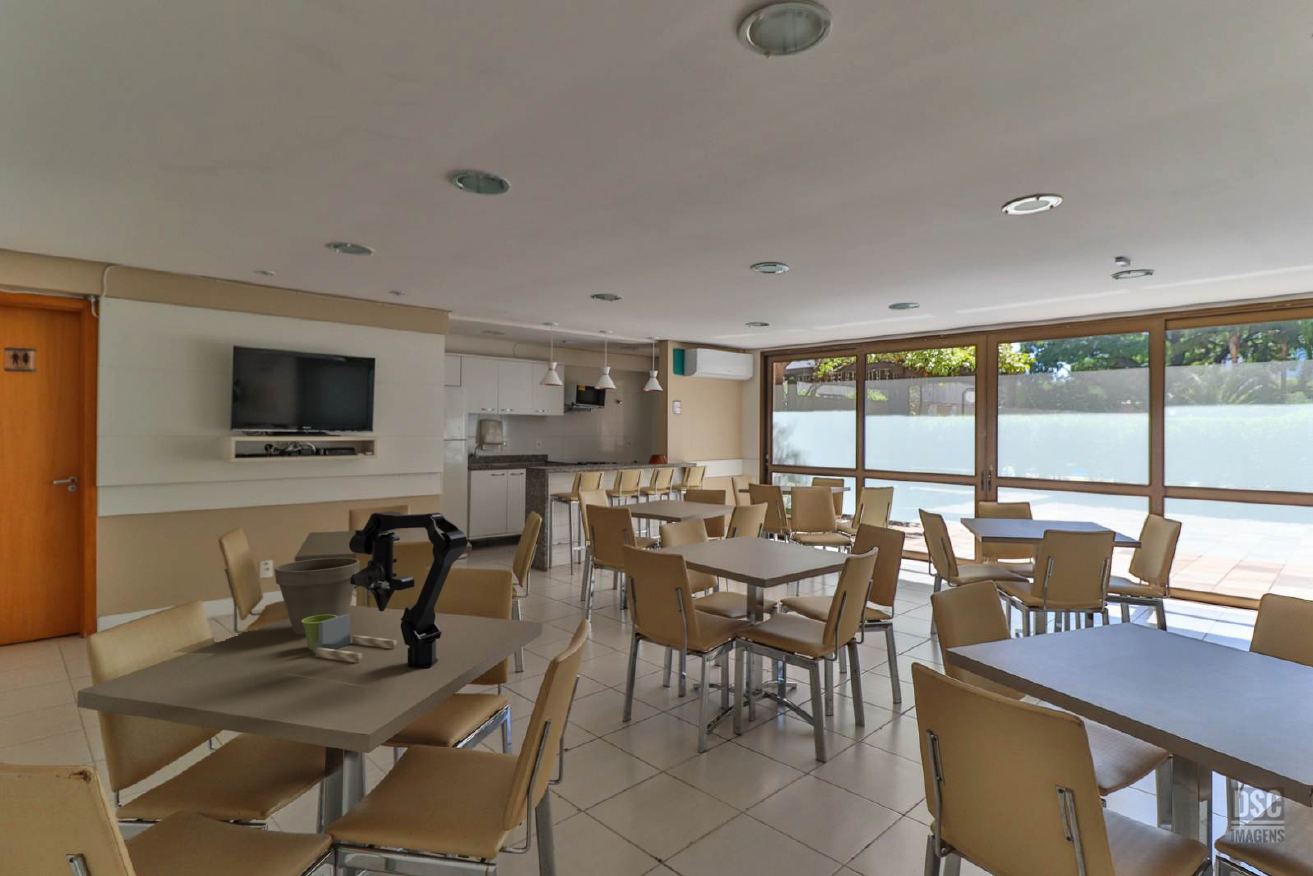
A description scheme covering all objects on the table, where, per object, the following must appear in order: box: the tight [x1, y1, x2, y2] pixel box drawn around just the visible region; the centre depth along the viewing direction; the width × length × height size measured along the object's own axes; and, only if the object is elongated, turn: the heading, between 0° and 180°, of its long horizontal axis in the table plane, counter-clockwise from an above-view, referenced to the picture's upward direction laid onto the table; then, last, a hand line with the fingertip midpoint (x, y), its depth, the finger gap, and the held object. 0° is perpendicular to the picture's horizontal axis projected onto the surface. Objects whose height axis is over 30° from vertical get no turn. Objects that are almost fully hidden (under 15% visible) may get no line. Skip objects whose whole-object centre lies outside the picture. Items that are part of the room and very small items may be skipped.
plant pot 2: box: [302, 615, 337, 651], centre depth 196 cm, size 9×9×9 cm
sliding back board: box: [312, 613, 351, 654], centre depth 194 cm, size 4×10×9 cm, turn 159°
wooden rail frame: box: [315, 634, 398, 663], centre depth 190 cm, size 16×14×2 cm
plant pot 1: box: [274, 557, 361, 636], centre depth 216 cm, size 25×25×22 cm
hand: (381, 611), depth 187 cm, fingers closed
